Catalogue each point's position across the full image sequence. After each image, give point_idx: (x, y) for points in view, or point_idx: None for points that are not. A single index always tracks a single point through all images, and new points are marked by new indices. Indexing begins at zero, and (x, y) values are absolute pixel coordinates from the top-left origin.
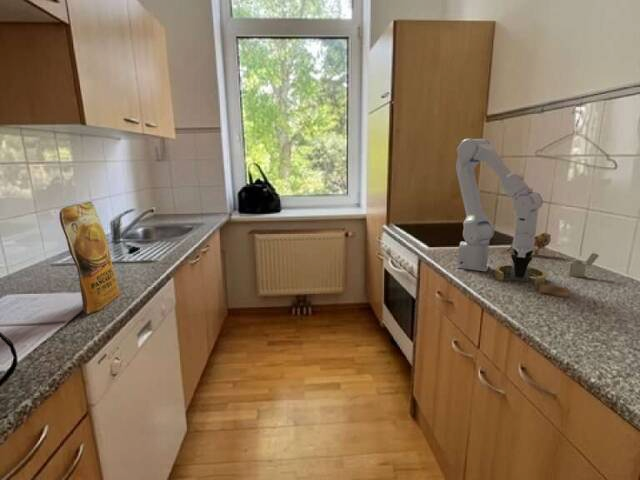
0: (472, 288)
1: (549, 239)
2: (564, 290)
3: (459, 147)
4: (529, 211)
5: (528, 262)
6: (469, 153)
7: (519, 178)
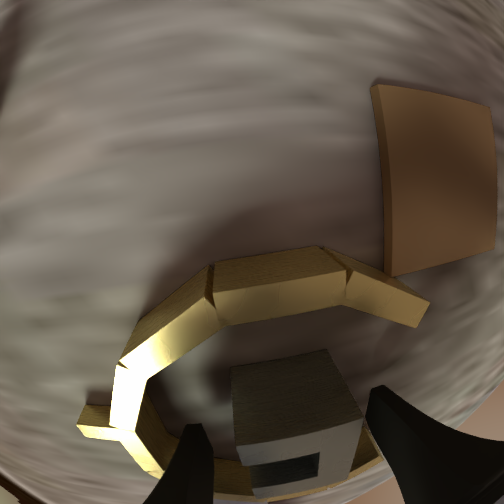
0: (462, 420)
1: None
2: (438, 112)
3: None
4: None
5: (490, 442)
6: None
7: None
